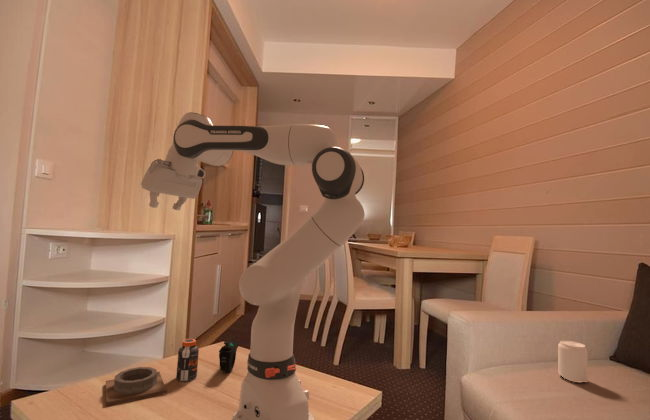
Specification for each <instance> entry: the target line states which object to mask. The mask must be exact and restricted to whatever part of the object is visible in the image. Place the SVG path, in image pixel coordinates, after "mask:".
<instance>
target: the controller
mask: <svg viewBox="0 0 650 420" xmlns="http://www.w3.org/2000/svg"><path fill="white" fill-rule="evenodd" d="M223 344H224V345H223V346H222V347H221V348H220V349H219V350H218V353H219V354H218V358H219V369H220V371H221V372H223V373H229V372H231V371H233V369H234V366H235V362H236V358H237V350H238V348H239V345H240V343H239V340H233V339H230V340H227V341H226V340H225V341H224V342H223Z"/></svg>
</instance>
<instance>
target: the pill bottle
mask: <svg viewBox="0 0 650 420" xmlns="http://www.w3.org/2000/svg"><path fill="white" fill-rule="evenodd" d="M177 351H178V352H177V353H178V354H177V363H176V365H177V366H176V375H175V376H176V377H175V379H176V380H177V381H180V382H189V381H190V382H191V381H192V380H195V378H197V376H198V365H199V351H200V349H199V347H198V346H197V340H196V339H195V338H185V339H183V340H182V343H181V346H180V347H179V349H178V350H177Z"/></svg>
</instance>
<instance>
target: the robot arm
mask: <svg viewBox="0 0 650 420" xmlns="http://www.w3.org/2000/svg"><path fill="white" fill-rule="evenodd" d="M179 120H180V121H179V122H178V124H177V126H176V128H175V130H174V133H173V139H172V140H173V141H172V143H171V144H172V145H170V147H169V149H168V150H167V154H166V157H165V160H163V159H161V158H157V159H155V160H153V161H152V162H151V163H150V165H149V167H148V168H147V170H146V171H145V174H144V176H143V177H142V180H141V183H140V186H141V188H142V189H144V190H145V191H147V192H149V200H150V201H149V204H148V205H149V207H151V208H156V209H157V208H158V207H159V204H160V202H159V201H158V197H160V194H162V195H163V194H164V195H169V196H176V197H177V198H178V200H177V201H176V202H175V203H173V205H172V209H173V210H175V211H181V209H182V206H183V205H184V204H185V203H186V202H187V199H193V200H194V199H196V198H197V197H198V196H199V193H200V191H201V187H202V185H203V179H204V178H206V174H207V173H206V171H204V169H202V168H201V166H200V165H198V164H199V162H202V163H203V164H204V163H205V164H206V165H207V164H208V165H210V166H213V167H214V166H216V167H221V166H225V165H226V164H228V163H229V161H230V160H231V158H232V157H233V153H234V152H243V153H247V154H249V155H253V156H255V157H258V158H260V159H263V160H265V161H266V162H267V161H268V162H269V163H272V164H275V165H280V166H287V167H288V166H289V167H291V166H295V167H296V166H310V167H311V173H312V177H313V180H314V181H315V183H316V185H317V187H318V190H319V192H320V193H321V196H322V197H323V198H324V201H323V203H322V205H320V206H319V208H318V209H317V210H315V212H314V213H313V214H311V216H309V218H307V219H306V220H305V221H304V223H302V224H301V225H300V226H299V227H298V228H297V229H296V230H295V231H294V232H293V233H292V234H291V235H290V236H288V237H287V238H286V239H284V240H283V241H282V242H279V244H278V245H276V246H274V248H272V249H271V250H270V251H268V252H267V253H266V254H265V255H263V256H262V257H261V258H259V259H258V260H257V261H256V262H254V263H252V264H250V265H249V267H247V268H246V269H245V270H243V272H242V273H241V275H240V277H239V280H238V289H239V292H240V295H241V297H242V298H243V300H245V301H246V303H249V305H254V306H258V309H257V313H256V315H255V317H254V319H253V321H252V324H251V330H250V332H251V333H250V349H249V353H248V356H247V362H246V363H247V367H246V369H247V373H246V376H245V377H244V379H243V380H242V382H241V384H240V392H239V399H238V400H239V401H238V408H237V410H236V411H235V412H233V414H232V419H231V420H316V419H315V418H314V416H313V415H312V413H311V412H310V409H309V399H310V393H309V390H308V389H303V387H302V386H303V385H302V384H301V383H302V382H301V379H299V378H298V376H297V373H296V370H297V364H296V358H295V354H294V353H293V350H294V334H295V333H294V331H295V324H296V323H295V321H296V316H297V313H298V307H299V303H300V297H301V293H302V292H301V291H302V288H303V285H304V283H305V280H306V278H307V277H308V276H309V275H310V274H312V273H313V272H314V271H315V270H317V269H318V268H320V267H321V266H322V265H324V263H326V261H327V260H328V259H330V258H331V257H332V256H333V255H334V254H335V253H337V251H338V250H339V249H340V248H341V247H342V246H343V245H344V244H346V242H348V240H350V238H351V237H352V235H354V234H355V232H356V231H357V230H358V228H359V227H360V226H361V224H362V223H363V221H364V220H365V216H366V215H365V214H366V213H365V210H364V209H365V208H364V206H363V205H362V203H361V202H360V200H359V199H358V198H357V196H356V195H358V194H359V192H360V191H361V190H362V188H363V186H364V183H365V174H364V171H363V169H362V167H361V165H360V164H359V162H358V160H357V159H356V158H355V156H353V155H352V154H351V153H350V152H349V151H348V150H346V149H344V148H341V147H338V142H337V137H336V133H334V130H333V129H332V128H330V127H328V126H325V125H320V124H314V123H313V124H312V123H311V124H310V123H296V124H295V123H292V124H280V125H279V124H277V125H276V124H275V125H250V126H249V125H214V124H213V122H212V120H211V119H210V118H209V117H208V116H205V115H203V114H200V113H197V112H186V113H185V114H183V116H182V117H181V118H180V119H179Z"/></svg>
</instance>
